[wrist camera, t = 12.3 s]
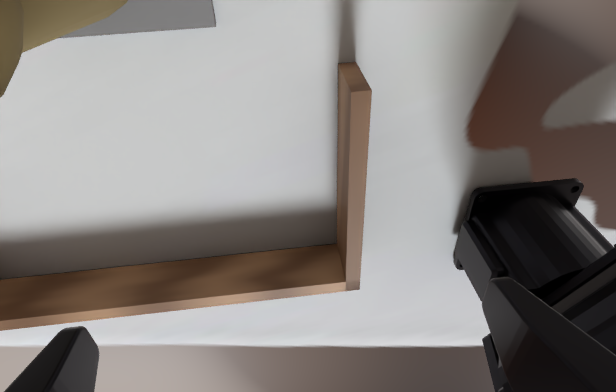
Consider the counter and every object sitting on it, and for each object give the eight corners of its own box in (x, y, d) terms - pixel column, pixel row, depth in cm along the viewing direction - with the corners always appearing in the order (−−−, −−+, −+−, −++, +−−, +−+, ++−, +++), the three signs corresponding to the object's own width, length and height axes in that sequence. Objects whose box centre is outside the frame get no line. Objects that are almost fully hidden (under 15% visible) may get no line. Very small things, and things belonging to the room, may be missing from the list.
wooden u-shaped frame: (356, 62, 18) (371, 90, 16) (349, 251, 26) (359, 289, 23) (-164, 103, 17) (-231, 140, 14) (-11, 290, 24) (-39, 335, 22)
